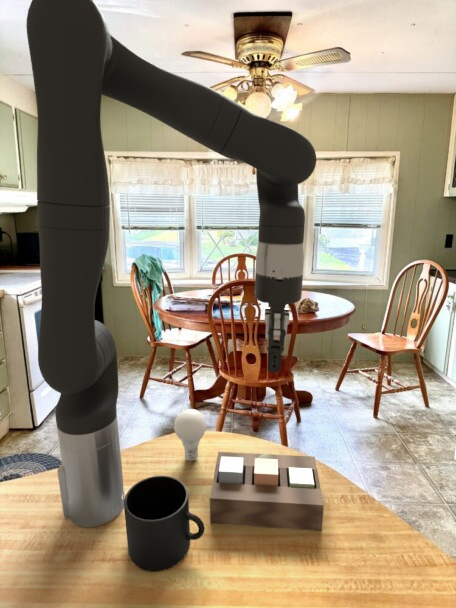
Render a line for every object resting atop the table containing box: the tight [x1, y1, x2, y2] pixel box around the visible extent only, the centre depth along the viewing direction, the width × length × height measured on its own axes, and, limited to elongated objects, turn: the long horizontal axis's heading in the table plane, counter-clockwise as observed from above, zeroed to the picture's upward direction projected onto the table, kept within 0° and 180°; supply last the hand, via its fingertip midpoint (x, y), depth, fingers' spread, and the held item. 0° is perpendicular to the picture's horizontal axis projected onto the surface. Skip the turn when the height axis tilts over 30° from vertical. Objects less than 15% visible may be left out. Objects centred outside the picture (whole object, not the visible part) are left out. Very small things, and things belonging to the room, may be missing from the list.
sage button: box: [288, 467, 314, 488], centre depth 70 cm, size 4×4×4 cm
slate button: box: [219, 456, 244, 484], centre depth 70 cm, size 4×4×4 cm
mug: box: [123, 475, 206, 573], centre depth 61 cm, size 9×12×9 cm
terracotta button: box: [254, 458, 278, 486], centre depth 70 cm, size 4×4×4 cm
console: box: [209, 451, 325, 532], centre depth 70 cm, size 18×12×5 cm, turn 85°
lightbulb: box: [173, 408, 207, 462], centre depth 80 cm, size 6×6×11 cm
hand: (273, 370), depth 69 cm, fingers closed
